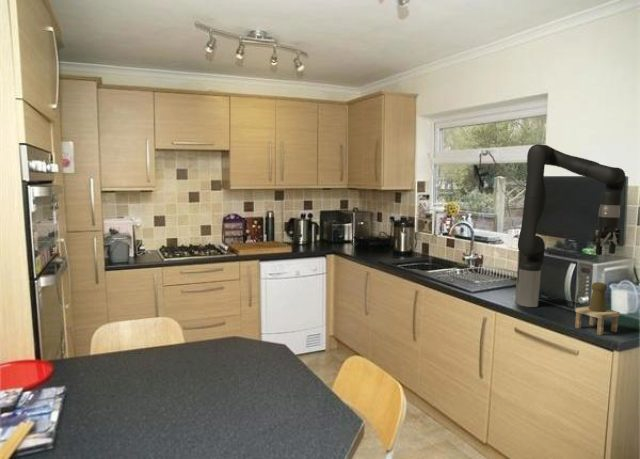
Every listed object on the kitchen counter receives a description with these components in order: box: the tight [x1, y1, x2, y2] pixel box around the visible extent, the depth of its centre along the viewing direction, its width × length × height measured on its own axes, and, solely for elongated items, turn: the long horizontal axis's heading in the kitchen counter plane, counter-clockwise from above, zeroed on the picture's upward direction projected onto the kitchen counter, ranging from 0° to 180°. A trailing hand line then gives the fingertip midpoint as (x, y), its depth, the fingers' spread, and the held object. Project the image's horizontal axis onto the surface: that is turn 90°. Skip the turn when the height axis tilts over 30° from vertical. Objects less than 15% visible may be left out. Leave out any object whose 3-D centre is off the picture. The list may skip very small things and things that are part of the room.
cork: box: [588, 281, 608, 312], centre depth 185 cm, size 6×6×11 cm
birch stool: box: [574, 305, 621, 336], centre depth 186 cm, size 11×11×8 cm
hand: (605, 254), depth 195 cm, fingers open, 8 cm apart
